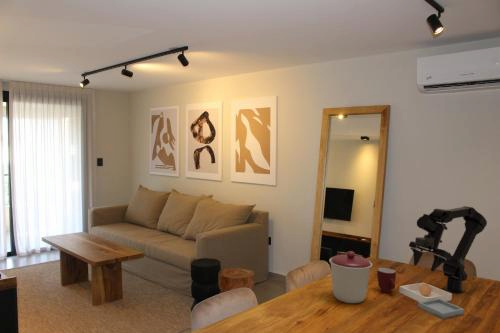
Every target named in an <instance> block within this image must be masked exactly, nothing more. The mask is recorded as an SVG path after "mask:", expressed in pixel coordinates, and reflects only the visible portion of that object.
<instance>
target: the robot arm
mask: <svg viewBox="0 0 500 333" xmlns="http://www.w3.org/2000/svg"><path fill="white" fill-rule="evenodd" d="M458 218H462V219H463V221H464V229H465V231H464V233H463V234H462V236H461V238H460V241H459V243H458V244H457V247H455V248H456V249H455V251H454V253H453V254H451V252H449V251H447V250H444V249H441V248H439V245H440V244H442V243H443V240H442V237H443V233H444V231H448V226H447V225H446V224H448V223H450V222H452V221H453V220H455V219H458ZM487 224H488V221H487V219H486V218H485V216H484V215H482V214H481V213H480V212H478V211H477V210H476V209H475V208H474V207H473V206H467V205H464V206H462V207H456V208H451V209H443V208H442V209H441V208H434V209H433V211H431V213H429V214H427V213H423V215H422V216H420V217H419V218H418V219H417V221H416V226H417V227H418V228H419V229H421V230H423V231H425V232H427V234H424V235H423V236H424V237H422V236H421V237H419V236H417V237H415V239H414V240H415V241H413V240H412V241H410V242H409V244H408V247H410V250H411V251H412V252H413V254H412V255H413V265H414V266H415V267H416V266H418V263H419V262H420V260H421V258H422V256H423V254H424V252H423V251H425V252H427V253H430V254H433V262H432V265H431V269H430V271H431V272H435V270H437V269H438V268H439V267H440V266H441V265H442V272H443V275H444V276H446V277H447V280H446V287H443V289H444V290H445V291H446V290H447V292H450V293H453V294H461V293H465V292H466V290H464V289H463V282H466V281H467V280H468V274H467V272H466V271H465V268H466V265H465V259H466V257H467V255H468V254H469V251H470V249H471V247H472V244H473V243H474V240H475V239H476V237H477V235H478V234H480V233H482V232H483V231H484V229H485V228H486V227H487Z"/></svg>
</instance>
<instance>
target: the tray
mask: <svg viewBox="0 0 500 333" xmlns="http://www.w3.org/2000/svg"><path fill="white" fill-rule="evenodd" d="M417 308H419V309H421V310H423V311H425V312H427V313H429V314H431V315H434V316H436V317H438V318H439V319H442V320H445V319H450V318H453V317H454V318H455V317H458V316H463V315H465V309H464V308H462V307H460V306H457V305H456V304H453V303H451V302H449V301H444V300H441V299H439V298H438V299H433V300H427V301H422V302H419V301H417Z"/></svg>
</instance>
